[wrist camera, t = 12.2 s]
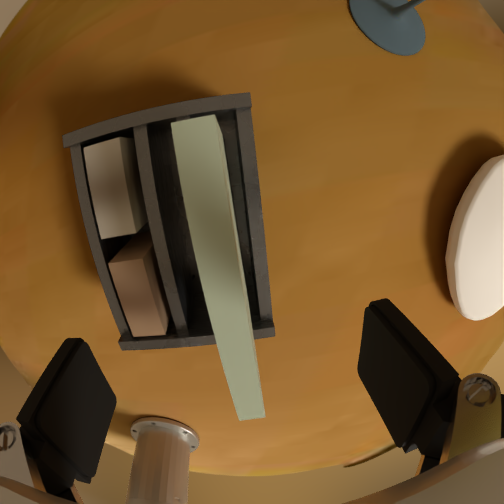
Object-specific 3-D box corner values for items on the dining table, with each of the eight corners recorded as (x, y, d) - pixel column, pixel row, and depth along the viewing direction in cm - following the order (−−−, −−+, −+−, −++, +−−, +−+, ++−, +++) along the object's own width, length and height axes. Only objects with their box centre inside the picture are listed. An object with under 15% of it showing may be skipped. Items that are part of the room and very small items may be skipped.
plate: (553, 224, 28) (490, 340, 36) (530, 212, 34) (471, 322, 41) (522, 118, 19) (438, 296, 26) (488, 112, 24) (406, 270, 32)
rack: (263, 287, 32) (275, 336, 23) (143, 301, 31) (121, 350, 23) (242, 110, 25) (250, 92, 16) (107, 136, 24) (62, 135, 16)
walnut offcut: (178, 290, 30) (165, 334, 22) (152, 293, 30) (133, 336, 22) (164, 228, 27) (142, 258, 20) (137, 232, 27) (108, 263, 20)
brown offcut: (160, 209, 27) (136, 233, 19) (132, 214, 26) (101, 239, 19) (149, 139, 24) (119, 137, 17) (121, 146, 24) (83, 147, 17)
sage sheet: (244, 274, 30) (265, 417, 13) (231, 276, 30) (239, 420, 13) (223, 137, 25) (214, 114, 8) (208, 140, 25) (170, 122, 8)
